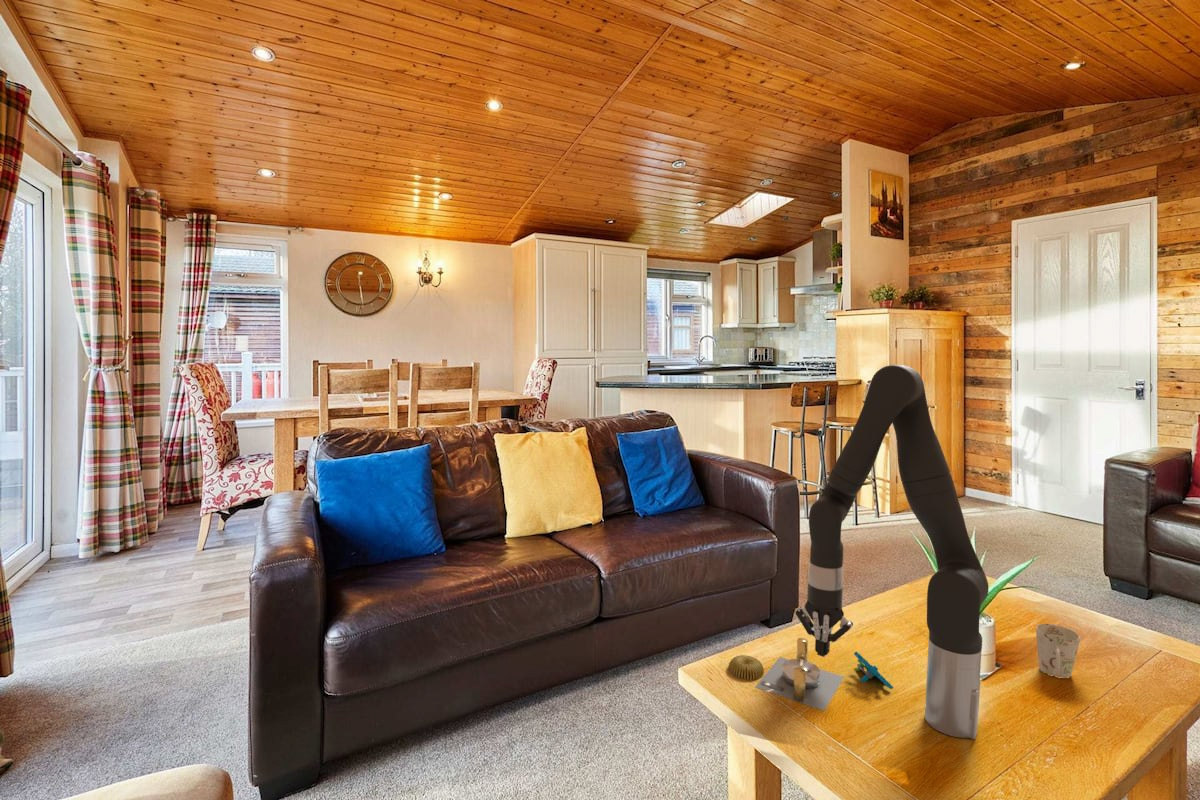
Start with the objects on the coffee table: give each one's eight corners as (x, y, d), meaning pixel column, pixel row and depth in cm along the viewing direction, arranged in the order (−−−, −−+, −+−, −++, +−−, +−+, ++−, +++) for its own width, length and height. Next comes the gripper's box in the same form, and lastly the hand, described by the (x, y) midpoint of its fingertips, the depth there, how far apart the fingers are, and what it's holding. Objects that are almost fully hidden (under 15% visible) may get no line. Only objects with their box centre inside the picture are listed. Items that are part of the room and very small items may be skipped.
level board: (845, 680, 139) (845, 673, 139) (823, 718, 125) (823, 711, 125) (781, 660, 148) (781, 654, 148) (754, 694, 134) (754, 687, 134)
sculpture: (770, 661, 140) (751, 673, 135) (770, 677, 141) (750, 691, 135) (741, 648, 146) (721, 660, 141) (741, 664, 146) (721, 676, 141)
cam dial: (818, 703, 127) (819, 676, 126) (779, 696, 130) (779, 669, 129) (819, 665, 142) (820, 641, 142) (784, 659, 145) (785, 635, 144)
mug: (1074, 669, 144) (1077, 629, 143) (1082, 695, 134) (1085, 651, 133) (1032, 659, 149) (1034, 620, 148) (1036, 683, 138) (1038, 641, 137)
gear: (903, 693, 131) (869, 659, 132) (884, 712, 131) (851, 679, 132) (880, 672, 142) (849, 641, 143) (862, 690, 142) (832, 659, 143)
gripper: (860, 584, 136) (856, 657, 138) (802, 570, 144) (799, 639, 146) (850, 595, 130) (846, 671, 132) (790, 579, 139) (787, 651, 140)
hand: (821, 654), depth 139 cm, fingers closed
